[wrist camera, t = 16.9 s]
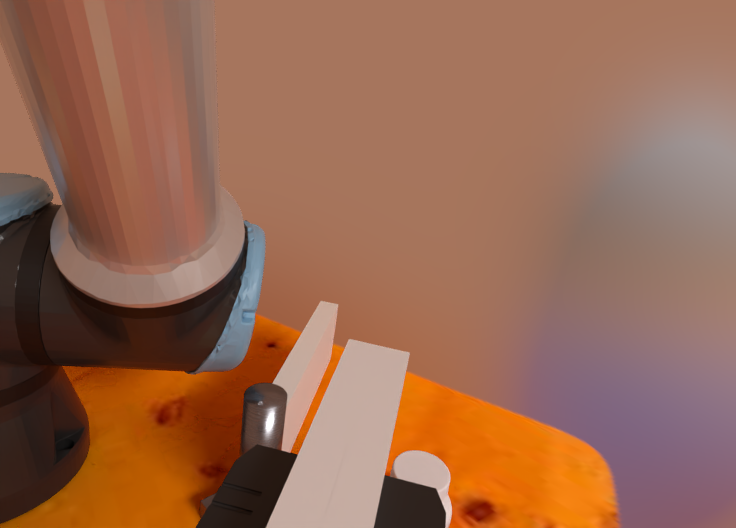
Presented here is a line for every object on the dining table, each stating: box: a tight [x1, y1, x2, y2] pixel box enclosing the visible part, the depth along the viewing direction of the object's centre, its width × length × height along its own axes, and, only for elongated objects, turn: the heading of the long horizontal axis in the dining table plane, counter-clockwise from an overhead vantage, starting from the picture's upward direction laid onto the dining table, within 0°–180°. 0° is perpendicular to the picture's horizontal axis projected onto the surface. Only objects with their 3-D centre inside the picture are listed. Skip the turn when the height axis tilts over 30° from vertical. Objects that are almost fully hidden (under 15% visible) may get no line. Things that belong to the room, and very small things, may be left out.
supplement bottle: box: [390, 450, 452, 528], centre depth 37 cm, size 5×5×10 cm
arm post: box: [200, 383, 287, 518], centre depth 39 cm, size 6×6×12 cm
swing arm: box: [272, 301, 338, 453], centre depth 50 cm, size 20×2×7 cm, turn 169°
